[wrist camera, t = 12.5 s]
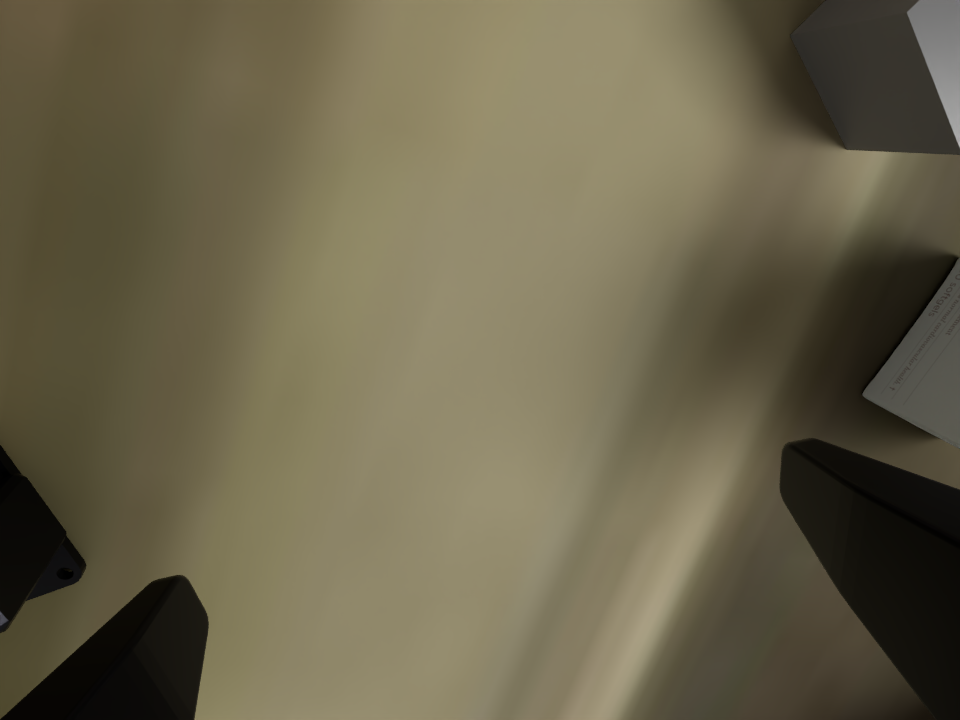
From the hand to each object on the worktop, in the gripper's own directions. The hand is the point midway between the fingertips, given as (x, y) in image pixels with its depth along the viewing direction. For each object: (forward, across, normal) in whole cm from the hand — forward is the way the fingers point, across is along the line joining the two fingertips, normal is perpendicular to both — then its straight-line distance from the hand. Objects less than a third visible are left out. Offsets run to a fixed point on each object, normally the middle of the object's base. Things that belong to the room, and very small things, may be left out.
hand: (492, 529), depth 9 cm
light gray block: (+15, -17, -4) cm, 23 cm away
